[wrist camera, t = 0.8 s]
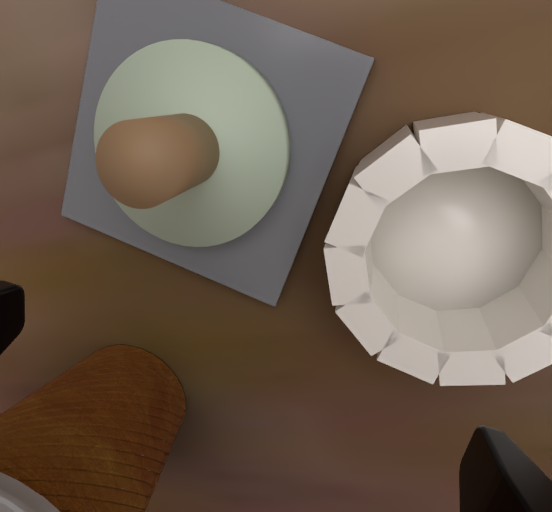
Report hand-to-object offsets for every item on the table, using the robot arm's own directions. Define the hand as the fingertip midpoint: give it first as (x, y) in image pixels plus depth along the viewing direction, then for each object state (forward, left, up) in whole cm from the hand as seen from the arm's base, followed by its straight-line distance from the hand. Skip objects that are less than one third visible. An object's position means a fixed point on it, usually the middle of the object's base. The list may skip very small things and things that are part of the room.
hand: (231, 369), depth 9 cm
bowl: (-5, -1, -12) cm, 13 cm away
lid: (+6, -1, -12) cm, 13 cm away
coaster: (+6, -1, -12) cm, 14 cm away
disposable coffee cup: (+6, +14, -12) cm, 19 cm away
